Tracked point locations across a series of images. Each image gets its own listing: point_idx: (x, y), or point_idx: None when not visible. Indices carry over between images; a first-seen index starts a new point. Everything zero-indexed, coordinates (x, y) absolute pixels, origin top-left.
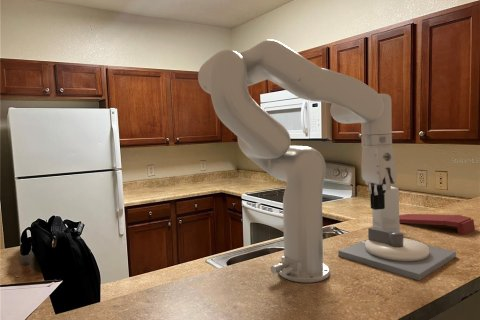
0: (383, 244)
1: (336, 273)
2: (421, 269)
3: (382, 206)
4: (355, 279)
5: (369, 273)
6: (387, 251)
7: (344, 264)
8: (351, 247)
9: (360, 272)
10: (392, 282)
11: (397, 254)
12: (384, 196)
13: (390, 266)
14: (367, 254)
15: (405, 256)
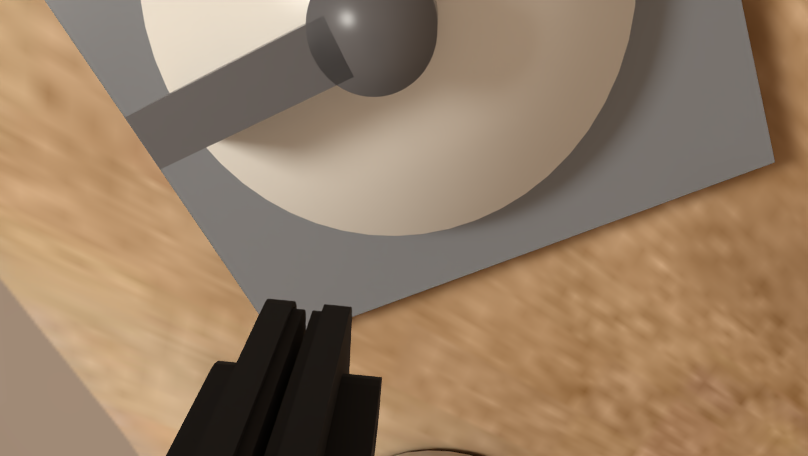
0: (333, 99)
1: (494, 431)
2: (735, 97)
3: (346, 350)
4: (584, 399)
5: (556, 314)
6: (478, 171)
7: (409, 355)
8: (242, 252)
9: (527, 343)
10: (694, 283)
11: (554, 146)
12: (317, 440)
13: (595, 225)
14: (387, 236)
15: (597, 110)
